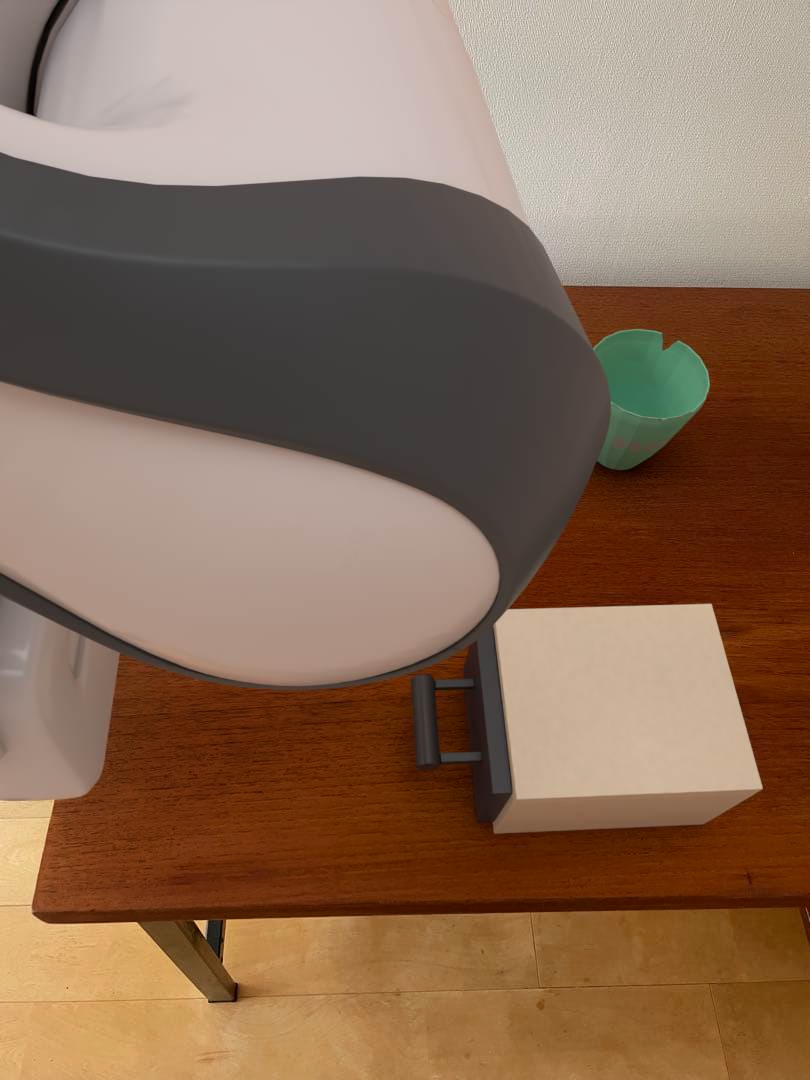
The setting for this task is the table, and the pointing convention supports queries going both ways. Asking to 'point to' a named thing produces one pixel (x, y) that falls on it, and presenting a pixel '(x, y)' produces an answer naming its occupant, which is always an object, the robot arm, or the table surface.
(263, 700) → the table surface
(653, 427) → the mug
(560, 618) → the beige cabinet housing
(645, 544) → the table surface
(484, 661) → the drawer
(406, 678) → the table surface
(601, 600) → the table surface
